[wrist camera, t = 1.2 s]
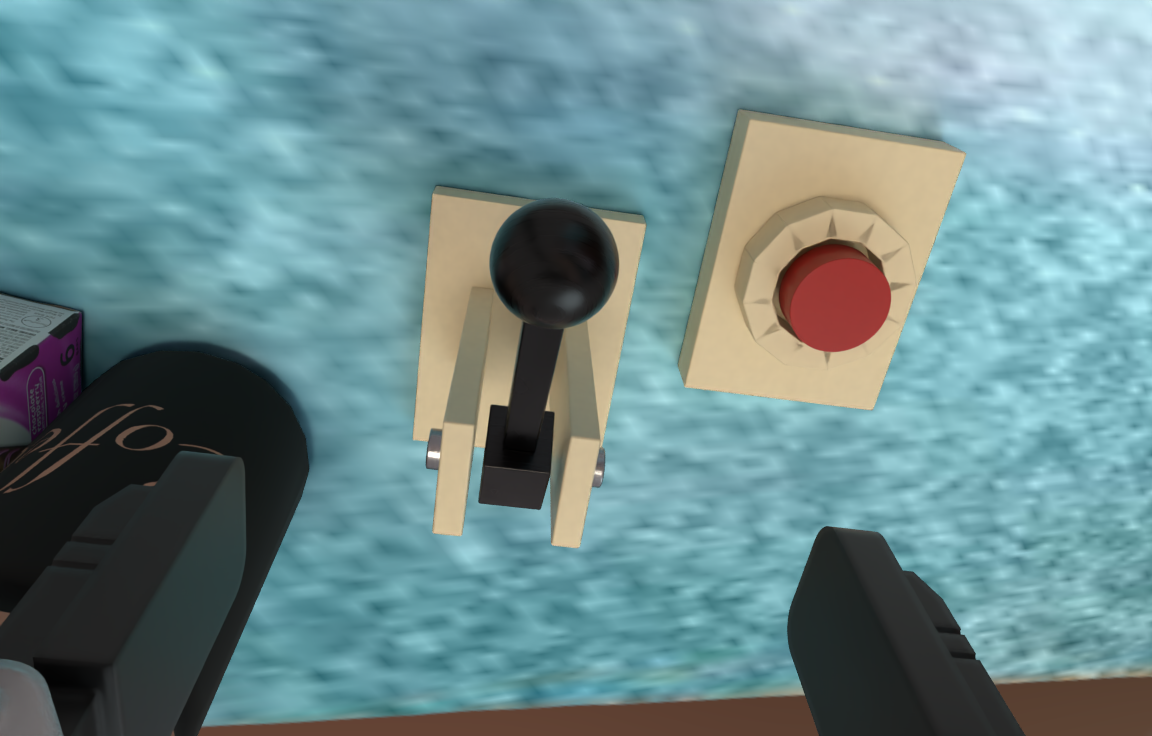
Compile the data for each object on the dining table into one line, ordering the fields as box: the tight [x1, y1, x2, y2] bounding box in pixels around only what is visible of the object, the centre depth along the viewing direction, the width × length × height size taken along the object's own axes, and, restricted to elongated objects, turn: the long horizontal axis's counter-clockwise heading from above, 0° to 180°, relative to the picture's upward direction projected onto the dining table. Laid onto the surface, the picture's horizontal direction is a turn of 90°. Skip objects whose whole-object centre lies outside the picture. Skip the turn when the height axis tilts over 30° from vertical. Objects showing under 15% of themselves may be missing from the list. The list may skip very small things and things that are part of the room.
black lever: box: [478, 198, 619, 510], centre depth 24 cm, size 13×3×3 cm, turn 170°
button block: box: [678, 109, 966, 410], centre depth 36 cm, size 12×9×4 cm
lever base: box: [413, 186, 646, 548], centre depth 33 cm, size 12×9×13 cm
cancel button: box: [779, 244, 891, 352], centre depth 33 cm, size 4×4×2 cm
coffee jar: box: [0, 351, 309, 736], centre depth 32 cm, size 11×11×18 cm
